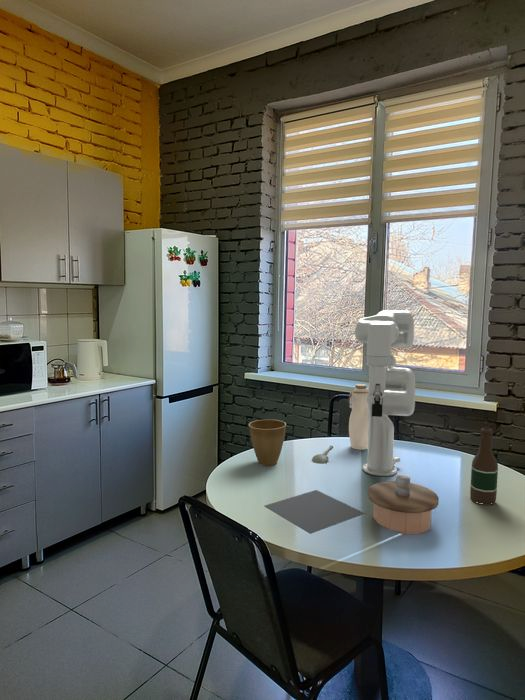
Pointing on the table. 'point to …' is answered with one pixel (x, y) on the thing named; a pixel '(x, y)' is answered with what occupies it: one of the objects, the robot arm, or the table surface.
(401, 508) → the lid
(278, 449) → the plant pot
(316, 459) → the soupspoon
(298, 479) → the table surface
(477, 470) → the beer bottle
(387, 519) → the bowl
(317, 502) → the mat
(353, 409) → the water bottle
